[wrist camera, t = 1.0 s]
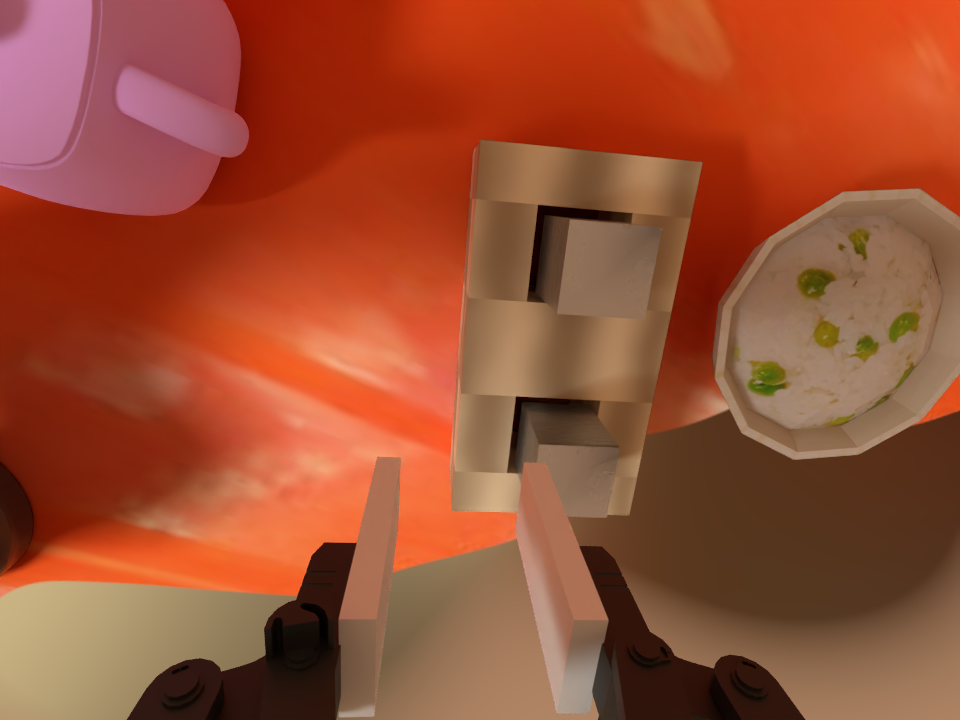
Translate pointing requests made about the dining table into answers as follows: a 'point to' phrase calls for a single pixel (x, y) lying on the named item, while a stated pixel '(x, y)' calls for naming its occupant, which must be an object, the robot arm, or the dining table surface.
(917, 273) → the bowl
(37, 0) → the teapot
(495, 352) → the socket block
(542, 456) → the far peg
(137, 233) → the dining table surface
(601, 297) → the near peg
